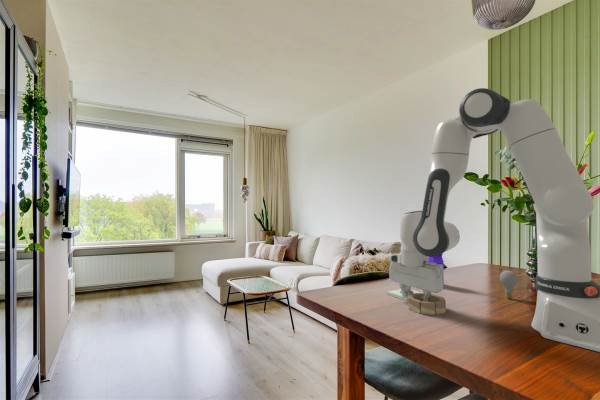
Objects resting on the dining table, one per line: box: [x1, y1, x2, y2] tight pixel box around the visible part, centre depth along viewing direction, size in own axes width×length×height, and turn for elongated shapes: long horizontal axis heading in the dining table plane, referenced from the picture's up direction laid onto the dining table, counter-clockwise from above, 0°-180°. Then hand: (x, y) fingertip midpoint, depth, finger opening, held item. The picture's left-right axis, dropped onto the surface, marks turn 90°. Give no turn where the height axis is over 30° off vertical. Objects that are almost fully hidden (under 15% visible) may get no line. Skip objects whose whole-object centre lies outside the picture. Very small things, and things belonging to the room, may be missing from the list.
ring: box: [407, 292, 447, 316], centre depth 106 cm, size 11×11×4 cm
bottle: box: [428, 253, 445, 285], centre depth 136 cm, size 7×6×17 cm
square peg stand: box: [386, 286, 422, 302], centre depth 121 cm, size 10×10×7 cm
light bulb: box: [499, 269, 519, 300], centre depth 116 cm, size 5×6×10 cm
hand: (414, 300), depth 110 cm, fingers open, 7 cm apart
